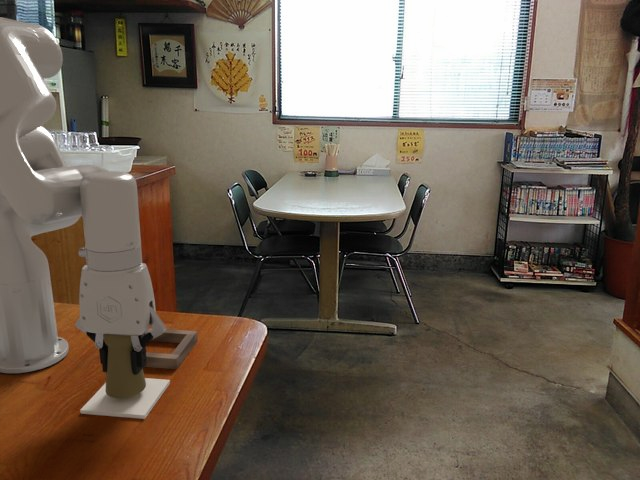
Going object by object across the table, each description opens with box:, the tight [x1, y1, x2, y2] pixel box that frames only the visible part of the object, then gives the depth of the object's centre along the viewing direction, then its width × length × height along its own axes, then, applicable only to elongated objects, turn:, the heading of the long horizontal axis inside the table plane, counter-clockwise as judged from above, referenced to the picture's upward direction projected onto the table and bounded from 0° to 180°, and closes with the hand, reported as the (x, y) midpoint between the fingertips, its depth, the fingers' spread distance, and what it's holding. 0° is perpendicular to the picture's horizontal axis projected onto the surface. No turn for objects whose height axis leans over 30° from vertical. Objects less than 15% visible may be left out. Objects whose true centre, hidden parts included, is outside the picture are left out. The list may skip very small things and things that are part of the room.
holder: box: [144, 327, 199, 370], centre depth 98 cm, size 11×11×2 cm
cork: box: [103, 334, 146, 398], centre depth 82 cm, size 6×6×11 cm
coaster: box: [79, 377, 171, 420], centre depth 83 cm, size 10×10×1 cm
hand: (124, 368), depth 82 cm, fingers closed on cork, 4 cm apart
